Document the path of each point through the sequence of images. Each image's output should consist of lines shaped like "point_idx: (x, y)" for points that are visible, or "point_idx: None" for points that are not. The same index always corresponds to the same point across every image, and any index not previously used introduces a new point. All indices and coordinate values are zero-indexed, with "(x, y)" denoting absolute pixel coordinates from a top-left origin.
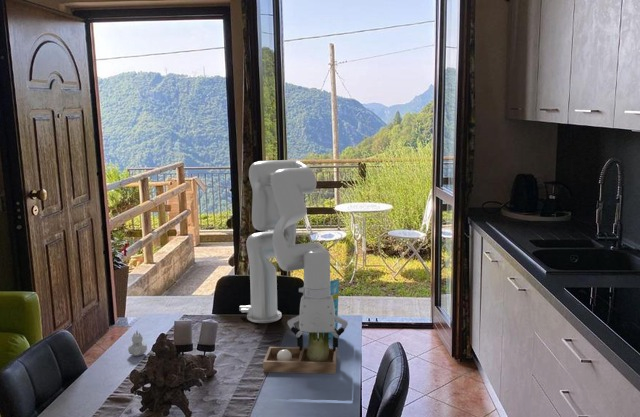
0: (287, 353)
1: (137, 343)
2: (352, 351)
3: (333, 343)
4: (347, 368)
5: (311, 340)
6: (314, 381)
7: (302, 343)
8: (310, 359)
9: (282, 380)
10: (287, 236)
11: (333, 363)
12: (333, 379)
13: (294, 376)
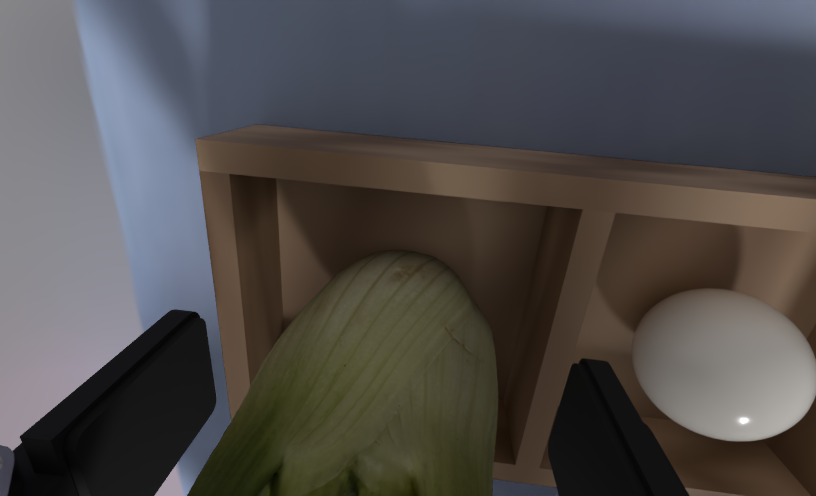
0: (725, 360)
1: None
2: (195, 460)
3: (128, 378)
4: (184, 244)
5: (455, 478)
6: (434, 5)
7: (575, 461)
8: (464, 293)
9: (748, 33)
10: None
11: (216, 142)
12: (265, 47)
13: (613, 120)
